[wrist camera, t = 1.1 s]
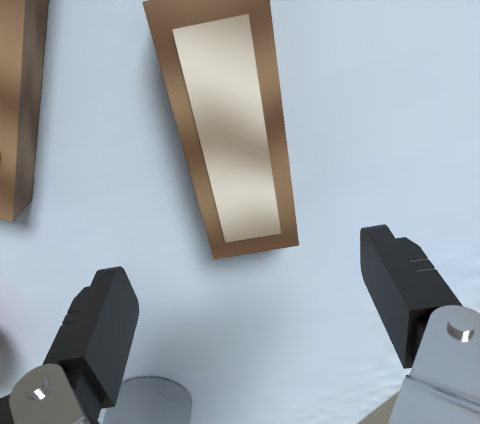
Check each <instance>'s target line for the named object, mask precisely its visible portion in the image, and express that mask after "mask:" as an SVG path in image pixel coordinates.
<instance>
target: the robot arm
mask: <svg viewBox="0 0 480 424" xmlns="http://www.w3.org/2000/svg"><path fill="white" fill-rule="evenodd" d="M360 263H361V272H362V276H363V280H364V282H365V285H366V287H367V289H368V291H369V293H370V296H371V298H372V300H373V302H374V304H375V307H376V309H377V311H378V313H379V315H380V318H381V320H382V322H383V324H384V326H385V328H386V331H387V333H388V335H389V337H390V339H391V342H392V344H393V346H394V348H395V350H396V352H397V355H398V357H399V359H400V361H401V363H402V366H403V368H404V369H406V368H412V369H411V372H410V374H409V376H408V375H406V377H405V379H404V381H403V383H402V386H401V389H400V391H399V394H398V397H397V400H396V403H395V405H394V408H393V411H392V414H391V416H390V419H389V422H388V424H480V313H478V312H476V311H474V310H472V309H470V308H467V307H463V306H462V304H461V303H460V302H459V300H458V299H457V297H456V296H455V295H454V293H453V292H452V291H451V289H450V288H449V286H448V285H447V284H446V282H445V281H444V280H443V278H442V277H441V275H440V274H439V273H438V271H437V270H435V268H434V266H433V264H432V263H431V262H430V260H428V257H427V256H426V255H425V253H424V252H423V251H422V249H421V248H420V246H418V245H417V244H415V243H414V242H412V241H411V240H409V239H407V238H406V237H403V238H397V239H395V237H394V236H393V234H392V233H391V231H390V230H389V228H388V227H387V225H385V224H384V225H378V226H372V227H365V228H361V232H360ZM67 313H68V314H67V315H66V316H65V318H64V320H63V322H62V324H63V325H62V326H61V327H60V329H59V331H58V333H57V335H56V337H55V339H54V341H53V344H52V346H51V348H50V350H49V352H48V354H47V356H46V358H45V360H44V363H43V365H41V366H39V367H36V368H34V369H33V370H31V371H30V372H28V373H27V374H26V375H24V376H23V377H22V378H21V379H20V380H19V381H18V383H17V384H16V385H15V387H14V388H13V390H12V392H11V394H10V395H7V396H5V397H3V398H0V424H100V422H99V421H98V418H99V414H100V411H101V409H103V408H107V410H106V413H105V417H104V420H103V424H190V418H191V405H192V401H191V397H190V395H189V393H188V392H187V391H186V390H185V389H184V388H183V387H181V386H180V385H178V384H176V383H174V382H171V381H169V380H165V379H161V378H152V377H145V378H136V379H132V380H128V381H125V382H123V383H122V379H123V375H124V371H125V367H126V363H127V360H128V356H129V352H130V348H131V344H132V340H133V336H134V332H135V328H136V325H137V321H138V317H139V304H138V299H137V297H136V295H135V292H134V290H133V288H132V286H131V283H130V281H129V279H128V277H127V275H126V272H125V270H124V269H123V268H122V267H120V266H119V267H113V268H107V269H101V270H98V271H97V272H96V274H95V276H94V279H93V281H92V283H91V285H90V286H89V287H84V288H83V290H82V291H81V292H80V293H79V294H78V295H77V296H76V297H75V298H74V299H73V301H72V303H71V306H70V308H69V310H68V312H67Z"/></svg>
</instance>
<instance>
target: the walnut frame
mask: <svg viewBox="0 0 480 424" xmlns="http://www.w3.org/2000/svg"><path fill="white" fill-rule="evenodd" d="M143 6H144V10H145V13H146V17H147V20H148V24H149V28H150V31H151V35H152V38H153V42H154V46H155V49H156V53H157V56H158V60H159V64H160V67H161V71H162V74H163V78H164V81H165V85H166V89H167V92H168V96H169V99H170V103H171V107H172V110H173V114H174V117H175V121H176V125H177V128H178V132H179V135H180V139H181V143H182V146H183V150H184V153H185V157H186V161H187V164H188V168H189V171H190V175H191V178H192V182H193V186H194V189H195V193H196V196H197V200H198V204H199V207H200V211H201V214H202V218H203V222H204V225H205V229H206V232H207V236H208V240H209V243H210V247H211V250H212V254H213V257H214V259H218V258H224V257H231V256H237V255H243V254H249V253H255V252H262V251H268V250H274V249H280V248H286V247H293V246H299V241H298V233H297V224H296V216H295V208H294V199H293V191H292V183H291V174H290V166H289V158H288V149H287V141H286V133H285V124H284V116H283V108H282V99H281V91H280V83H279V74H278V66H277V58H276V49H275V41H274V33H273V24H272V16H271V8H270V0H148V1H144V2H143Z"/></svg>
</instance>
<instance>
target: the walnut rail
mask: <svg viewBox="0 0 480 424" xmlns="http://www.w3.org/2000/svg"><path fill="white" fill-rule="evenodd" d="M48 3H49V0H0V219H3V220H7V221H11V222H13V221H14V220H15V219H16V218H17V217H18V216H19V214H20V213H21V212H22V211H23V210H24V209H25V208H26V206H27V205H28V204H29V203H30V202H31V201H32V192H33V180H34V169H35V157H36V145H37V133H38V121H39V109H40V97H41V86H42V74H43V62H44V50H45V38H46V26H47V14H48Z"/></svg>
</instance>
